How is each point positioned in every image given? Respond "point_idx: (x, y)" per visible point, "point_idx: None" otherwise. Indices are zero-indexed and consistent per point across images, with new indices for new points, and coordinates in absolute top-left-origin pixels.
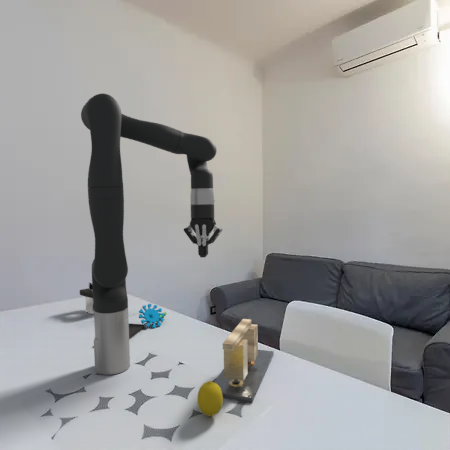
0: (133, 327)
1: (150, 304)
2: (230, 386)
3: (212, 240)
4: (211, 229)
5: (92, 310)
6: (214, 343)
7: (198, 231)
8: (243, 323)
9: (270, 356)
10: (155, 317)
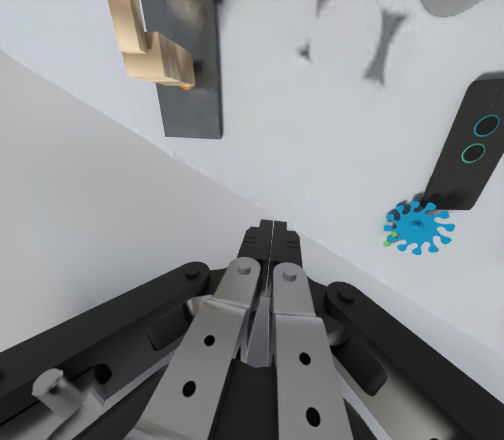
0: (447, 190)
1: (432, 251)
2: None
3: (156, 281)
4: (76, 435)
5: None
6: (268, 160)
7: (295, 423)
8: (119, 2)
9: (162, 114)
10: (405, 225)
